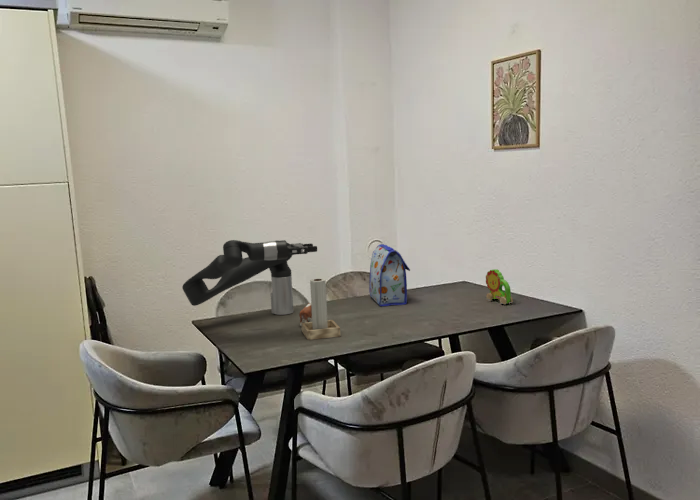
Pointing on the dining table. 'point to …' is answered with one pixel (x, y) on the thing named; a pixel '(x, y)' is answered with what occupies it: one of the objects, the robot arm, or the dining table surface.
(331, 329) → the wooden tray
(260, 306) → the dining table surface
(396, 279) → the lunch bag
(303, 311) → the bull figurine
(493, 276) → the toy lion
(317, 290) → the paper towel roll
